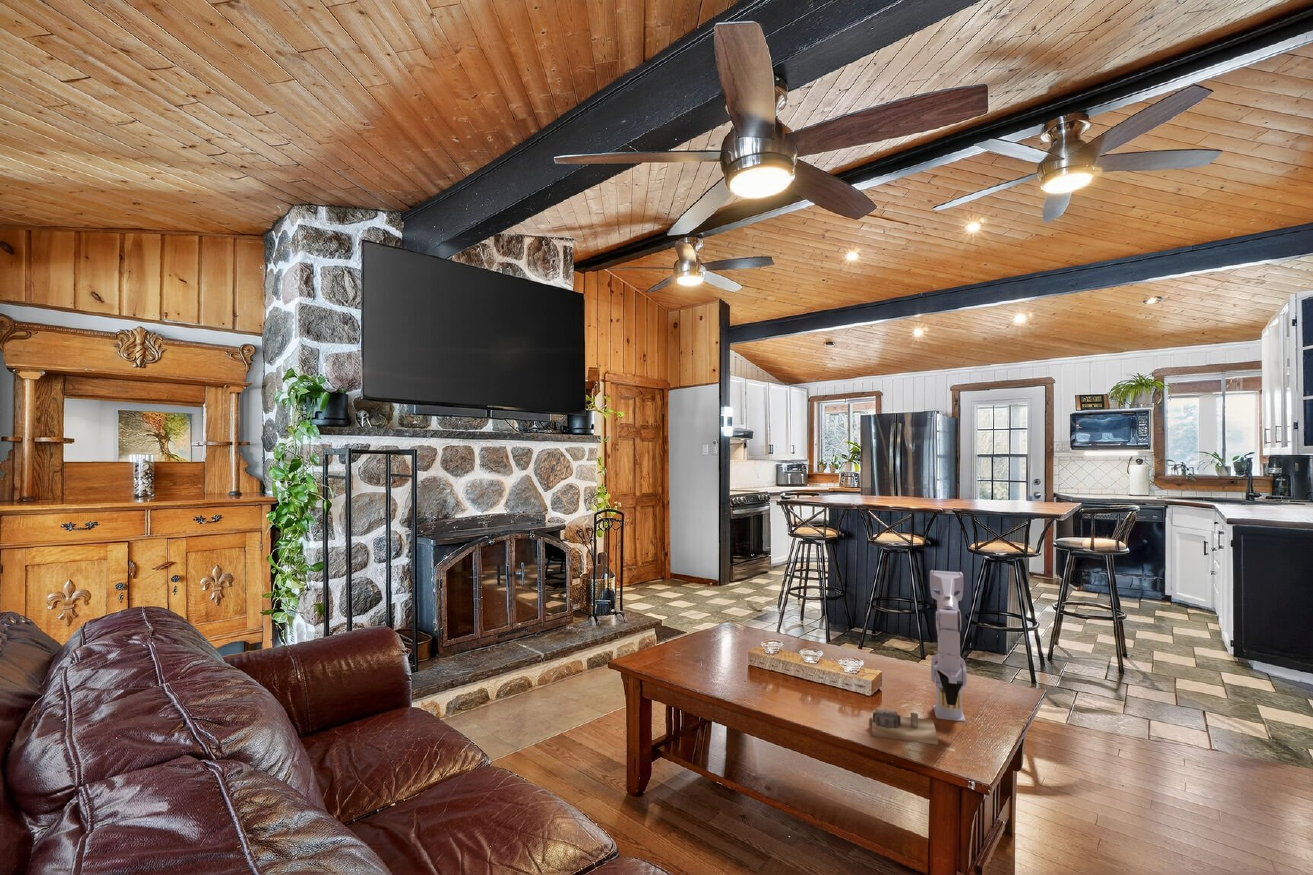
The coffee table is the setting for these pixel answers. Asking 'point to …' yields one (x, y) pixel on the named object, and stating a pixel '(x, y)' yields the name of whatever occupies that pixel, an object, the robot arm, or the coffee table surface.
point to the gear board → (903, 727)
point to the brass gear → (944, 703)
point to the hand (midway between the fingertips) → (949, 700)
